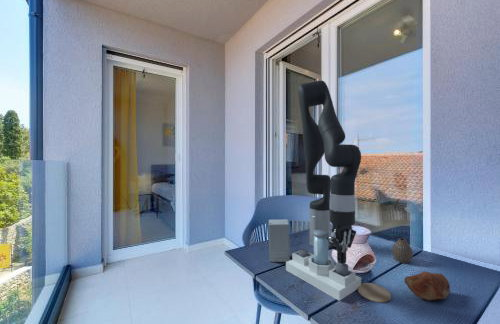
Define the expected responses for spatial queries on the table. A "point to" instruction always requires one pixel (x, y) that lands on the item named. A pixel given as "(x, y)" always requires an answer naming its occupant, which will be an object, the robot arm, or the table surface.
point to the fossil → (428, 285)
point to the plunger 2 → (342, 269)
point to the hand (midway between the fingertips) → (341, 262)
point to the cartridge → (320, 247)
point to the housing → (323, 276)
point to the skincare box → (279, 240)
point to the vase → (402, 251)
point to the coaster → (374, 292)
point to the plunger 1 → (303, 253)
